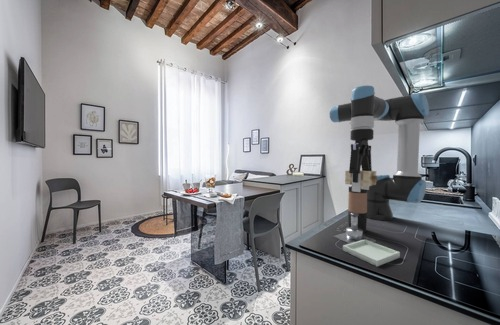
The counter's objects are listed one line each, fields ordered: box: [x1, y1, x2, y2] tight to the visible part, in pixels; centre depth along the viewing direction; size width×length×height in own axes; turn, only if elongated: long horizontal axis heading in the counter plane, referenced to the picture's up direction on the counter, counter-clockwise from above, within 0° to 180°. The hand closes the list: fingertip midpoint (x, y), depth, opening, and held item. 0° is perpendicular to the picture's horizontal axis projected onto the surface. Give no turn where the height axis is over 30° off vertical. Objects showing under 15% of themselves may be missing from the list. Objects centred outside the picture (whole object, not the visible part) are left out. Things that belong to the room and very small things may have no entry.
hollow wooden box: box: [344, 169, 377, 186], centre depth 77 cm, size 8×9×5 cm
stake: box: [333, 213, 377, 244], centre depth 85 cm, size 11×11×11 cm
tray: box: [342, 239, 401, 267], centre depth 72 cm, size 12×12×2 cm
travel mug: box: [347, 185, 368, 233], centre depth 96 cm, size 8×8×20 cm
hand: (360, 190), depth 78 cm, fingers closed on hollow wooden box, 8 cm apart
